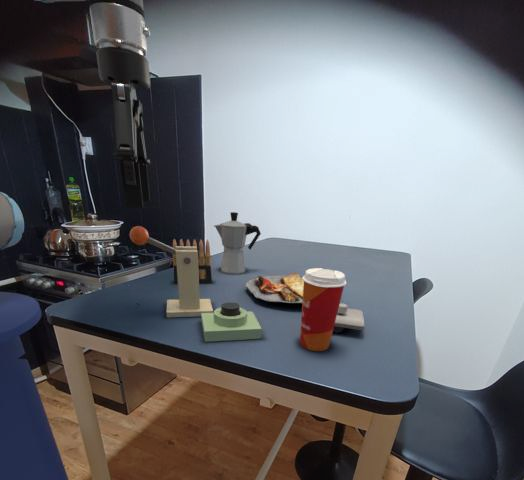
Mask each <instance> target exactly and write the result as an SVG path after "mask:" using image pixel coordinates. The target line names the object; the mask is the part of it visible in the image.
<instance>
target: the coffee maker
mask: <svg viewBox="0 0 524 480" xmlns="http://www.w3.org/2000/svg"><path fill="white" fill-rule="evenodd" d="M238 217H239V213H238V212H235V211H232V212H230V220H228V221H225V222H221V223H219V224H214V225H213V227H214V228H215V229H216V231H217V233H218V234H219V237H220V240H221V245H222V246H223V253H222V261H221V267H220V272H221V273H225V274H229V275H231V274H232V275H239V274H245V273H246V266H245V265H246V264H245V255H244V247H245V246H246V241H247V236H248V235H251V234H253V233H256V234H255V236H254V237H253V239H252V240H251V242H250V243H249V245H248V246H247V248H248V249H249V251H251V250H252V248H253V246H255V243H256V242H257V240H258V239H259V237H260V236H261V234H262V233H261V231H260V228H259V226H257V225H253V224H252V223H249V222H244V223H243V222H241V221H238Z"/></svg>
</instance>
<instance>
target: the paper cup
mask: <svg viewBox="0 0 524 480" xmlns="http://www.w3.org/2000/svg"><path fill="white" fill-rule="evenodd" d="M302 277H303V278H302V279H303V281H304V287H303V302H302V303H301V304H302V305H301V319H300V335H299V336H300V337H299V342H300V343H299V344H300V345H301V347H302V348H304V349H305V350H308V351H312V352H322V351H326V350H327V349H328V348H329V347H330V343H331V340H332V337H333V333H334V331H333V328H334V324H335V320H336V316H337V312H338V308H339V304H340V303H341V300H342V297H343V296H342V295H343V291H344V288H345V286H346V285H347V280H346V274H345V273H344V272H341V271H340V270H332V269H329V268H325V269H324V268H323V267H314V268H308V269H306V270H305V273H304V275H303V276H302Z"/></svg>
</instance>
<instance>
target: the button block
mask: <svg viewBox="0 0 524 480" xmlns="http://www.w3.org/2000/svg"><path fill="white" fill-rule="evenodd" d="M200 317H201V319H200V320H201V327H202V333H203V339H204V342H205V343H208V342H226V341H228V342H229V341H246V340H247V341H249V340H261V339H262V334H263V328H262V327H261V324H260V322H259V321H258V319H257V316H256V315H255V314H254V311H247V310H246V309H244V308H242V307H240V314H239V315H238V316H230V317H229V316H224V315H222V314H221V307H217V308H215V310H213V313H201V316H200Z"/></svg>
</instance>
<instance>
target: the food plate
mask: <svg viewBox="0 0 524 480" xmlns="http://www.w3.org/2000/svg"><path fill="white" fill-rule="evenodd" d="M302 278H303V276H300V275H299V273H298V272H294V273H291V274H288V275H283V274H282V275H281V274H280V275H275V274H273V275H257V277H253V278H250V279H249V280H248V281H246V282H245V284H244V286H245V287H246V288H247V290H248V291H249V292H250V293H251V294H253V296H254V297H255V298H256V299H259V300H263V301H266V302H274V303H280V304H290V305H291V304H292V305H295V304H296V305H297V304H302V302H303V287H304V281H303V279H302Z"/></svg>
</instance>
